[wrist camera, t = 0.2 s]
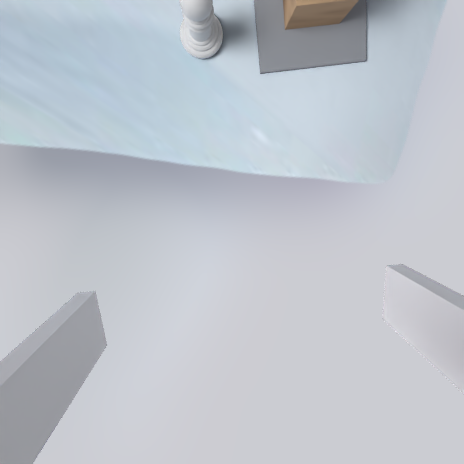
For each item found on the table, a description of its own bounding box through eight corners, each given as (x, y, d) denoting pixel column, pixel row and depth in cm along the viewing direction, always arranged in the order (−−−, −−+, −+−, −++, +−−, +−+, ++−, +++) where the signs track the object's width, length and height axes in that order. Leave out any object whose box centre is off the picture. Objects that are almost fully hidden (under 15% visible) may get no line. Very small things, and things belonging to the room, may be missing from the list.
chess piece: (186, 63, 34) (174, 27, 25) (175, 16, 32) (160, -40, 24) (226, 55, 34) (229, 16, 25) (218, 7, 32) (218, -52, 24)
